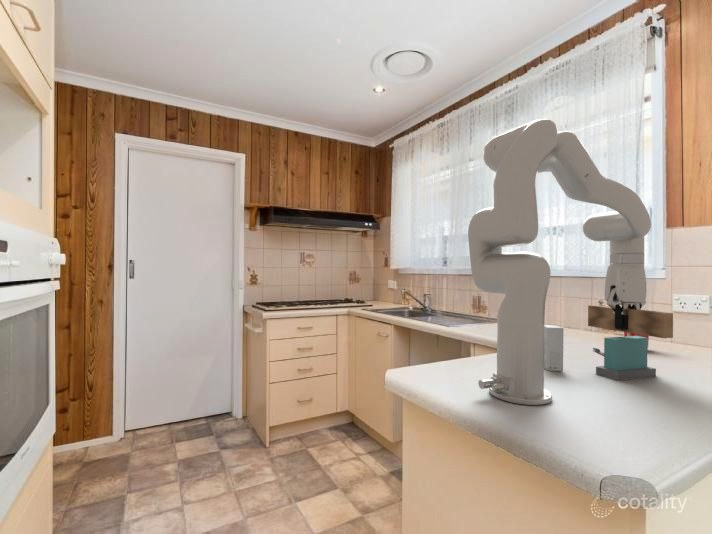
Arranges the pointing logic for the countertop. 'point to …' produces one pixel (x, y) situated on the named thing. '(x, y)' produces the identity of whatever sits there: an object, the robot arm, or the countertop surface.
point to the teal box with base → (625, 358)
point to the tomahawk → (598, 351)
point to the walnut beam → (633, 321)
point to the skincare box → (553, 348)
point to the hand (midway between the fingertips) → (626, 328)
